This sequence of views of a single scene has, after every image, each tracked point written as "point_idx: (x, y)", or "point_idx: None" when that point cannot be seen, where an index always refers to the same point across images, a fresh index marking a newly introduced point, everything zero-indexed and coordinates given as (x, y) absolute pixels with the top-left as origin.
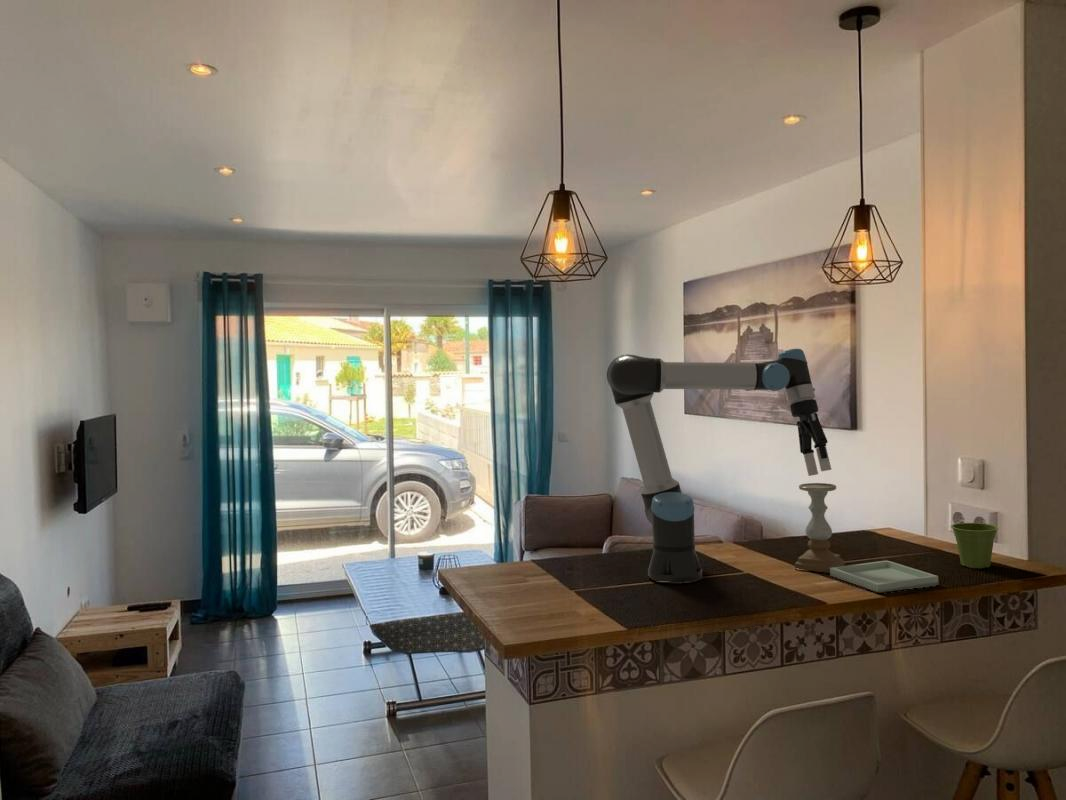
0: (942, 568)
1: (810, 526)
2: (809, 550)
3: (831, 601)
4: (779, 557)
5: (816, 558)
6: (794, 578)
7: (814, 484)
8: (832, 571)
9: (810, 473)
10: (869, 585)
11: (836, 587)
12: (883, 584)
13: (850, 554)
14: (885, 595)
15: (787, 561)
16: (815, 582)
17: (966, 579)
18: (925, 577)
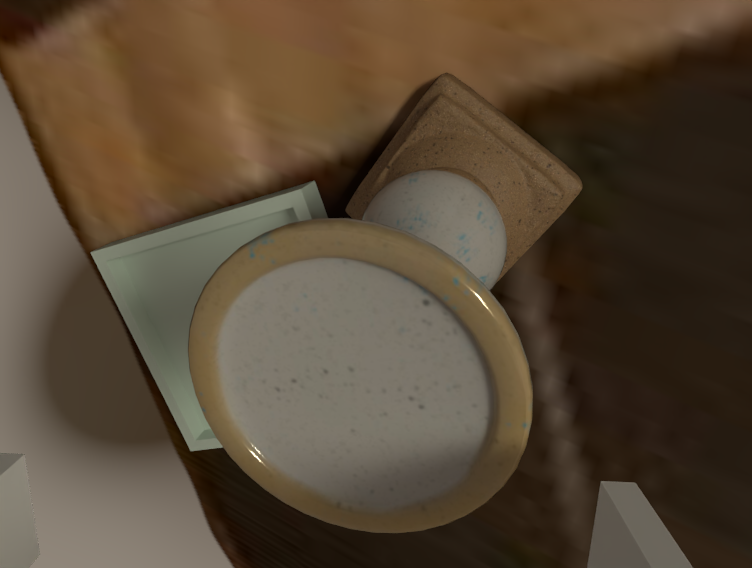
0: (383, 542)
1: (395, 198)
2: (453, 167)
3: (26, 69)
4: (722, 66)
5: (390, 172)
6: (302, 24)
7: (491, 426)
8: (292, 190)
9: (606, 518)
10: (127, 239)
11: (179, 148)
12: (102, 272)
13: (659, 404)
14: None
15: (616, 84)
16: (241, 94)
17: (264, 523)
18: (175, 414)
